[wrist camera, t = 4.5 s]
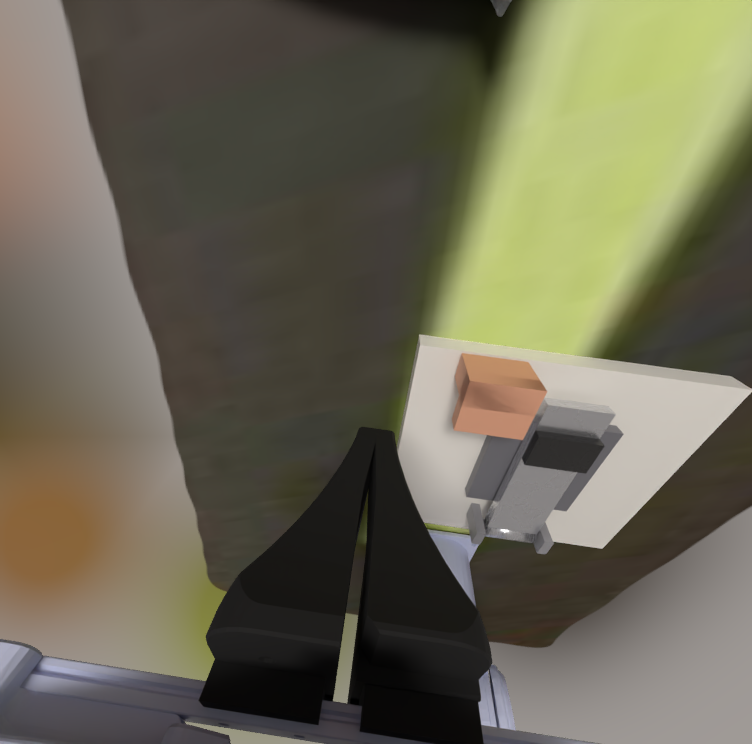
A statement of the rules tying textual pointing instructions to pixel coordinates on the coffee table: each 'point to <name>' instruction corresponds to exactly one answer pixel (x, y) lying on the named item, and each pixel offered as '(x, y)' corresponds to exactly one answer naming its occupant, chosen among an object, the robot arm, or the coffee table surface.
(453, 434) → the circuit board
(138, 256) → the coffee table surface
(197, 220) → the coffee table surface
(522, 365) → the block
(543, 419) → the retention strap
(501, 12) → the electronic device
